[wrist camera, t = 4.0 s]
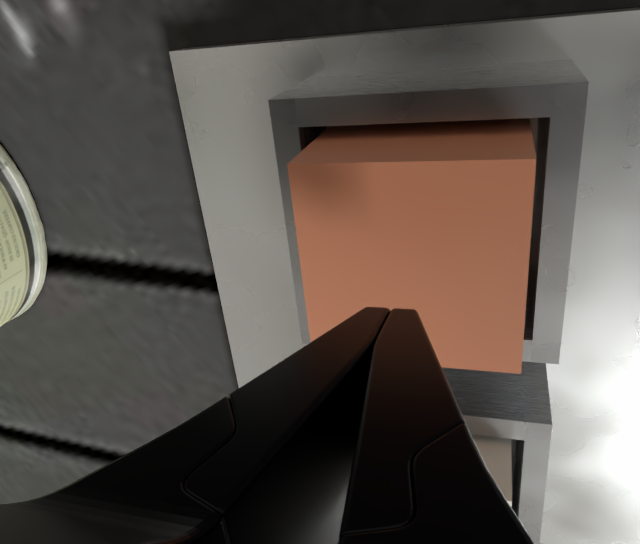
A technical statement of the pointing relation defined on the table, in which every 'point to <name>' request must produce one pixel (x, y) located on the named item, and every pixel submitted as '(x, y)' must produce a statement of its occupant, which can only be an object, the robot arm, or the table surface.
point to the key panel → (546, 233)
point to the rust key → (421, 231)
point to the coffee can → (19, 243)
